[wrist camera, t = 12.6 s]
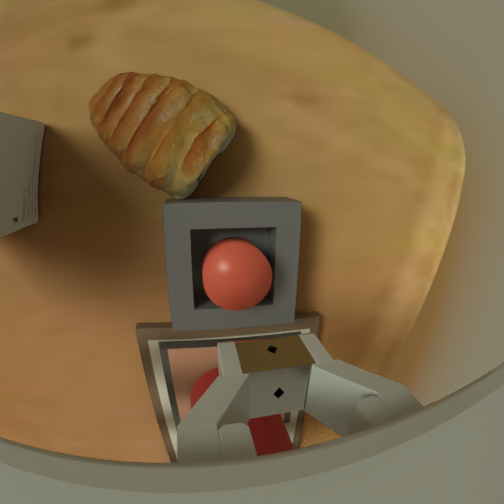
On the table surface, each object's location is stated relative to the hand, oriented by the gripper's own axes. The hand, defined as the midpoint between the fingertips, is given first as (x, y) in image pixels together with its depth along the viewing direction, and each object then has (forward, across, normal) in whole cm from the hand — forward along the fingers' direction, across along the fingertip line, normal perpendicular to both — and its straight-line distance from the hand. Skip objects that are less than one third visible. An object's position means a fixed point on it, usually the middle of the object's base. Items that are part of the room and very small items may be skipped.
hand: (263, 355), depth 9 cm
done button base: (+12, 0, 0) cm, 12 cm away
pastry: (+13, +4, -8) cm, 15 cm away
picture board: (+12, 0, +16) cm, 20 cm away
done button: (+9, 0, 0) cm, 10 cm away
